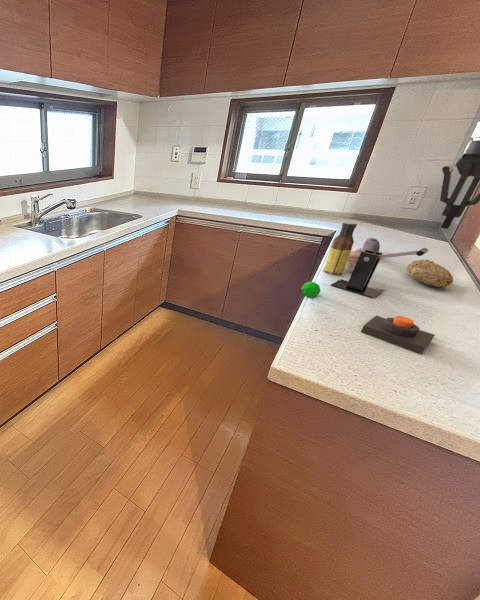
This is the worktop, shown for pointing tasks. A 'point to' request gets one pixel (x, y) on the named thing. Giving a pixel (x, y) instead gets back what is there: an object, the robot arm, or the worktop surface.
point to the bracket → (362, 275)
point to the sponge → (429, 273)
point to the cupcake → (352, 260)
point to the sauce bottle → (340, 250)
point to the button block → (398, 334)
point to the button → (403, 322)
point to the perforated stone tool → (371, 245)
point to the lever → (404, 253)
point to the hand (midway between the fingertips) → (444, 227)
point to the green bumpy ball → (311, 289)
